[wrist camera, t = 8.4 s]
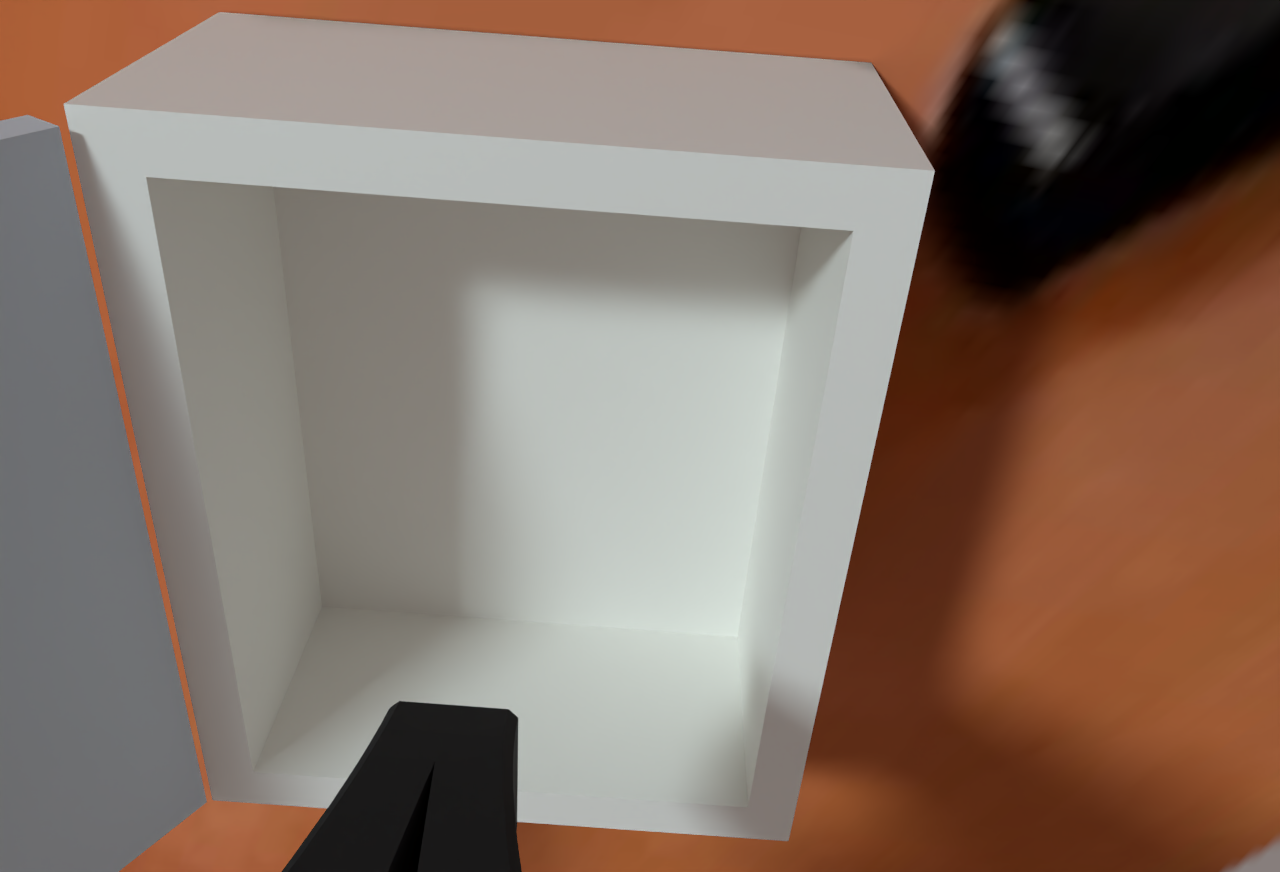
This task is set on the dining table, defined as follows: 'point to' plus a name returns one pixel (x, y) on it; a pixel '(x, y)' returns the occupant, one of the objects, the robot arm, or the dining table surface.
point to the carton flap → (74, 559)
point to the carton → (504, 394)
